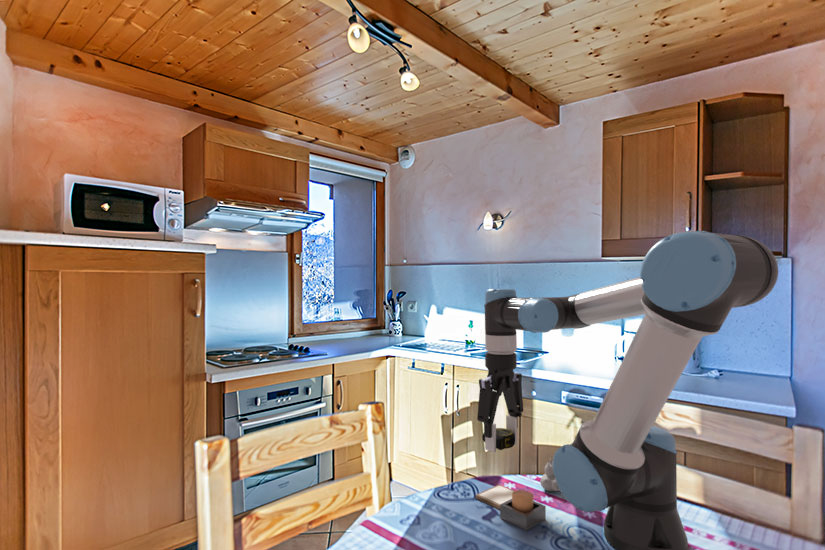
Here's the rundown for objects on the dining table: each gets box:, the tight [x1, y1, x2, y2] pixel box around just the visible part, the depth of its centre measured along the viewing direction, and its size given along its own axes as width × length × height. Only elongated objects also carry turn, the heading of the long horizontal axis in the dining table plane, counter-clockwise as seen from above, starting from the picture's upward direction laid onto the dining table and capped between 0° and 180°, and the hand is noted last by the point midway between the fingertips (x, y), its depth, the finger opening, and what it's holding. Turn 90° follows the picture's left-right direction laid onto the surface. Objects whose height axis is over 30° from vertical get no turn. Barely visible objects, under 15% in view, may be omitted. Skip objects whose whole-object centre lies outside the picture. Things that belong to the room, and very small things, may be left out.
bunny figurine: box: [540, 458, 560, 492], centre depth 116 cm, size 5×7×8 cm
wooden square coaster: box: [474, 484, 515, 510], centre depth 112 cm, size 9×9×1 cm
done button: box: [512, 489, 534, 514], centre depth 102 cm, size 5×5×3 cm
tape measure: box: [482, 427, 516, 451], centre depth 112 cm, size 7×7×4 cm
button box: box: [499, 499, 547, 531], centre depth 102 cm, size 7×7×3 cm
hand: (501, 446), depth 112 cm, fingers closed on tape measure, 7 cm apart
